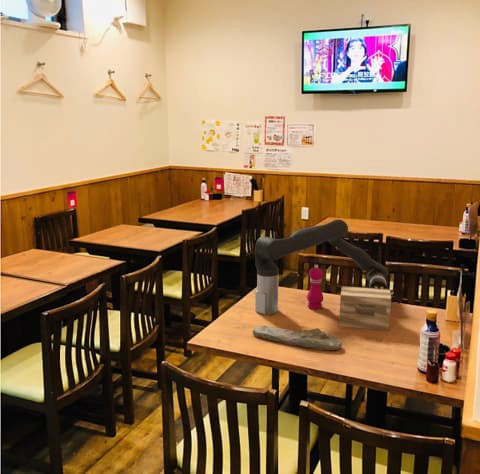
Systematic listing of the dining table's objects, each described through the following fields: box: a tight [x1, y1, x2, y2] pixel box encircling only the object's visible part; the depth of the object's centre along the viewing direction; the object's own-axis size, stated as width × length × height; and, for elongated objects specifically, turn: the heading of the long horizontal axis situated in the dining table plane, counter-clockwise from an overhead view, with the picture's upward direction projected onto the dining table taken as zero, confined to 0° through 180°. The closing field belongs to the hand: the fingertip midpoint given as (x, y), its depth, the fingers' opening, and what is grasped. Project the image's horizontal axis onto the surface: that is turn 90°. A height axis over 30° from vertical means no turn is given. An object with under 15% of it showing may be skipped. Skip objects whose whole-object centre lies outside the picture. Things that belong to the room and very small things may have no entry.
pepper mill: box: [306, 264, 324, 310], centre depth 226 cm, size 7×7×20 cm
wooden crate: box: [338, 285, 392, 331], centre depth 209 cm, size 11×20×14 cm, turn 76°
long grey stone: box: [252, 325, 343, 351], centre depth 194 cm, size 35×5×10 cm
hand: (379, 298), depth 217 cm, fingers closed
